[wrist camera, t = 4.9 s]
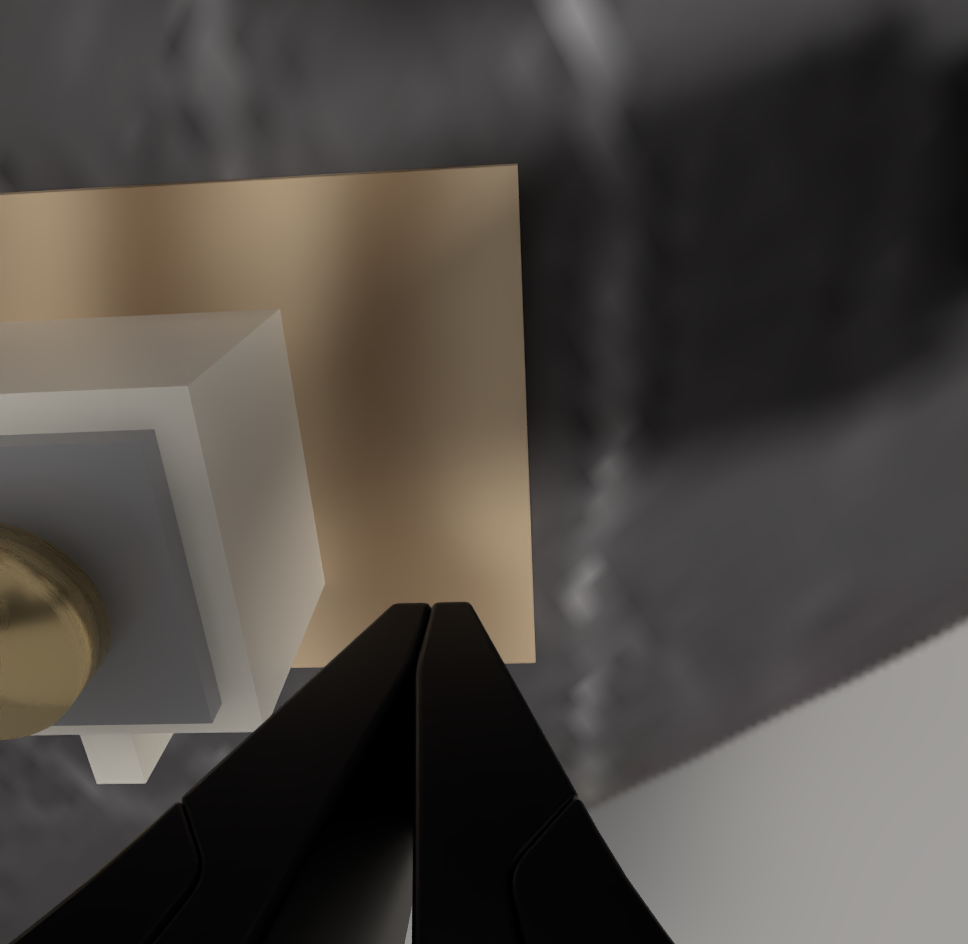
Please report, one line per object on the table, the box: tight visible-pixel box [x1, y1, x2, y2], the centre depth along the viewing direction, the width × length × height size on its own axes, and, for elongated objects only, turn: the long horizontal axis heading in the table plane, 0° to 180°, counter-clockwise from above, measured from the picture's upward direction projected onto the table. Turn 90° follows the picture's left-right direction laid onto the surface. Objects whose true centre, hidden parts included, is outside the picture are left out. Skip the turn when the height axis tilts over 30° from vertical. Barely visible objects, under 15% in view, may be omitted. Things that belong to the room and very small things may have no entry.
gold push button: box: [0, 523, 111, 740], centre depth 17 cm, size 5×5×7 cm
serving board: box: [0, 163, 536, 668], centre depth 22 cm, size 20×14×1 cm
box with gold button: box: [0, 309, 325, 784], centre depth 19 cm, size 8×10×7 cm
